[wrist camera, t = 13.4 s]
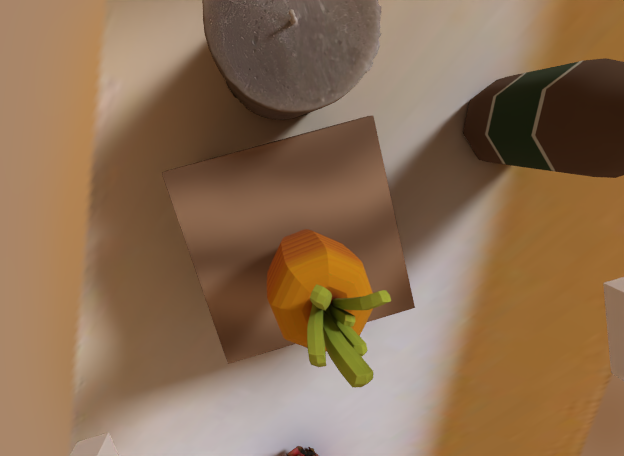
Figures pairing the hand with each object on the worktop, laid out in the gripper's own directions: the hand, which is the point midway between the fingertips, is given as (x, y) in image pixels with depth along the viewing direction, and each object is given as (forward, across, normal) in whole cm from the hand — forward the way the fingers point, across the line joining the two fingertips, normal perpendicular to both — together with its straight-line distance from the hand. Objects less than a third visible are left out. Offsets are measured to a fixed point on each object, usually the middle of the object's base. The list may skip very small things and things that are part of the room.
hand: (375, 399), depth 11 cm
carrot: (+19, -1, -1) cm, 19 cm away
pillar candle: (+29, +2, +12) cm, 32 cm away
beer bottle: (+29, +20, +2) cm, 36 cm away
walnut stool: (+29, -1, -1) cm, 29 cm away
